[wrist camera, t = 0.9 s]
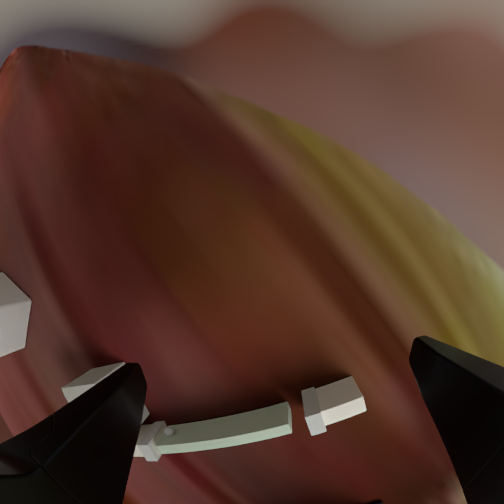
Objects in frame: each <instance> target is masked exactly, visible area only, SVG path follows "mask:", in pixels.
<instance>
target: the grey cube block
mask: <svg viewBox="0 0 504 504" xmlns="http://www.w3.org/2000/svg"><path fill="white" fill-rule="evenodd" d="M124 364H125V362H121V363H117V364H112V365H107V366H102V367H98V368H93V369H91V370H89V371H88V372H86V373H84V374H83V375H81V376H80V377H78V378H76V379H75V380H73V381H72V382H70V383H68V384H67V385H65V386H64V387H62V388H61V389H62V391H63V393H64V395H65V397H66V399H67V401H68V403H69V402H71V401H72V400H74V399H75V398H77V397H78V396H80V395H81V394H82V393H84V392H85V391H87V390H88V389H90V388H91V387H93V386H94V385H96V384H97V383H98V382H100V381H101V380H103V379H104V378H106V377H107V376H109V375H110V374H111V373H113V372H114V371H116V370H117V369H119V368H120V367H121V366H123V365H124ZM149 414H150V413H149V412H148V410H147V408H146V406H145V404H144V410H143V417H142V423H143V422H144V420H145V419H146V418H147V417H148V415H149ZM142 423H141V424H142Z"/></svg>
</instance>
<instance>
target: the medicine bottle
mask: <svg viewBox="0 0 504 504" xmlns="http://www.w3.org/2000/svg"><path fill="white" fill-rule="evenodd" d="M31 303H32V301H31V299H30V298H29V297H28V296H27V295H26V294H25V293H24V292H22V291H21V290H20V289H19V288H18V287H17V286H16V285H15V284H14V283H13V282H12V281H11V280H10V279H9V278H8V277H7V276H6V275H5V274H4V273H3V272H1V273H0V357H1V356H4V355H7V354H9V353H12V352H15V351H17V350H20V349H22V348H25V344H26V336H27V328H28V321H29V314H30V308H31Z"/></svg>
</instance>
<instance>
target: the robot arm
mask: <svg viewBox="0 0 504 504" xmlns="http://www.w3.org/2000/svg"><path fill="white" fill-rule="evenodd" d="M409 362H410V366H411V368H412V371H413V373H414V376H415V379H416V381H417V384H418V387H419V389H420V392H421V395H422V397H423V399H424V402H425V404H426V406H427V408H428V410H429V412H430V414H431V416H432V418H433V420H434V423H435V425H436V427H437V429H438V431H439V433H440V436H441V438H442V440H443V442H444V445H445V447H446V449H447V452H448V454H449V456H450V459H451V461H452V464H453V466H454V469H455V471H456V474H457V476H458V479H459V481H460V484H461V487H462V489H463V492H464V495H465V498H466V501H467V504H504V367H502V366H500V365H497V364H495V363H492V362H490V361H487V360H485V359H482V358H480V357H477V356H475V355H472V354H470V353H467V352H465V351H462V350H460V349H457V348H455V347H452V346H450V345H448V344H445V343H443V342H440V341H438V340H435V339H433V338H430V337H428V336H420V337H416V338H415V339H414V341H413V344H412V348H411V352H410V356H409ZM146 390H147V383H146V380H145V377H144V374H143V372H142V369H141V366H140V365H139V364H138V363H126V364H124V365H123V366H121V367H120V368H119V369H117V370H116V371H114V372H113V373H111V374H110V375H109V376H107V377H106V378H104V379H103V380H101V381H100V382H98V383H97V384H96V385H94V386H93V387H91V388H90V389H88V390H87V391H85V392H84V393H82V394H81V395H80V396H78V397H77V398H75V399H74V400H72V401H71V402H69V403H68V404H66V405H65V406H63V407H62V408H60V409H59V410H57V411H56V412H54V413H53V415H52V414H51V415H50V416H48V417H47V418H46V419H44V420H42V421H41V422H39V423H38V424H36V425H35V426H33V427H31V428H29V429H28V430H26V431H24V432H22V433H20V434H18V435H16V436H15V437H13V438H11V439H9V440H7V441H5V442H3V443H1V444H0V504H122V503H123V498H124V494H125V489H126V485H127V480H128V476H129V472H130V468H131V464H132V460H133V456H134V452H135V448H136V444H137V440H138V436H139V432H140V428H141V423H142V417H143V410H144V403H145V396H146ZM372 504H383V502H382V501H377V502H374V503H372Z"/></svg>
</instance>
